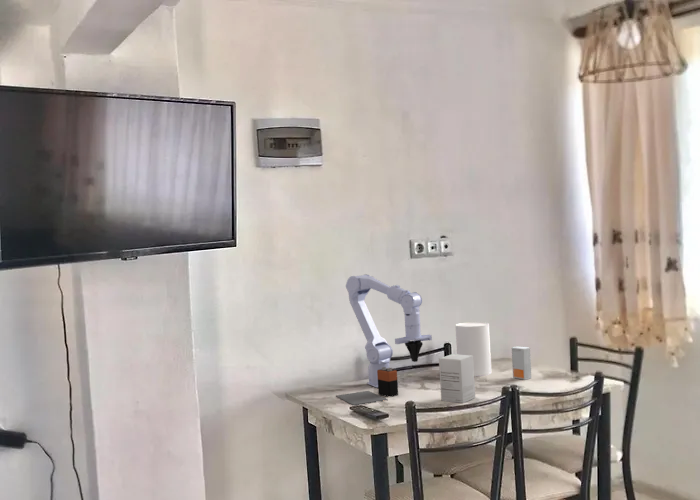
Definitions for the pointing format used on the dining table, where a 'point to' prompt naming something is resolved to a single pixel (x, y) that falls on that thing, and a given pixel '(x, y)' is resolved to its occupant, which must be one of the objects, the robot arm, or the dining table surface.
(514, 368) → the skincare box
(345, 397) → the mat
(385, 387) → the battery
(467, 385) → the supplement box
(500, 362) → the dining table surface
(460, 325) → the canister
